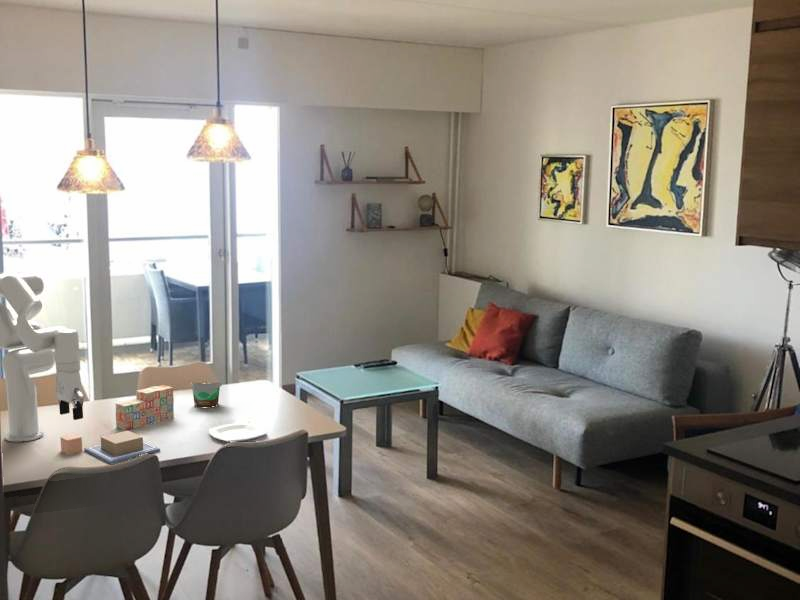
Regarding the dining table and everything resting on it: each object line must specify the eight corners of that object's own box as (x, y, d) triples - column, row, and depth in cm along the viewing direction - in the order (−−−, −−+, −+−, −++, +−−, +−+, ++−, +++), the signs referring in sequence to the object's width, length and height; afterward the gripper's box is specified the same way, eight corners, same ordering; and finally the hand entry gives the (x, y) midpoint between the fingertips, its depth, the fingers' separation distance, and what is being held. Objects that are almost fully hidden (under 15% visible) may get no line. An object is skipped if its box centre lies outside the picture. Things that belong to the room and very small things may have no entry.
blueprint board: (84, 450, 286) (83, 436, 285) (132, 439, 299) (132, 425, 298) (110, 464, 274) (110, 449, 273) (160, 451, 287) (159, 437, 286)
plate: (201, 433, 307) (201, 428, 307) (250, 425, 318) (250, 420, 318) (223, 448, 292) (223, 442, 292) (273, 438, 303) (273, 433, 303)
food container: (190, 409, 336) (190, 385, 335) (190, 405, 342) (190, 381, 341) (222, 408, 339) (221, 383, 338) (221, 403, 345) (221, 380, 344)
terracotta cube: (61, 451, 286) (60, 437, 285) (75, 447, 290) (74, 433, 289) (68, 454, 283) (67, 440, 282) (82, 451, 286) (81, 437, 285)
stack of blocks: (125, 430, 309) (124, 398, 307) (115, 427, 313) (114, 395, 311) (174, 418, 326) (173, 387, 324) (164, 414, 329) (163, 384, 327)
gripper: (45, 364, 285) (49, 414, 287) (69, 372, 273) (72, 423, 275) (67, 361, 290) (70, 409, 292) (91, 368, 278) (94, 418, 281)
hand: (71, 416), depth 284 cm, fingers open, 9 cm apart
